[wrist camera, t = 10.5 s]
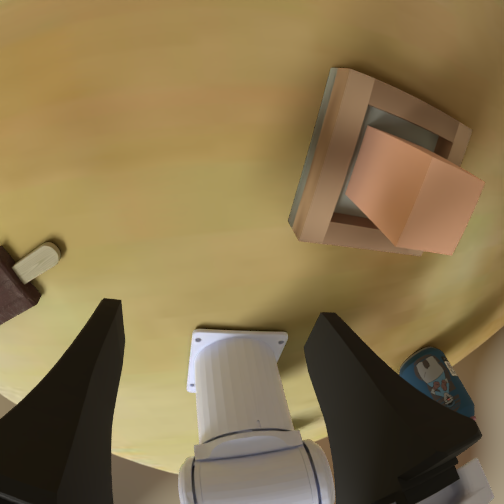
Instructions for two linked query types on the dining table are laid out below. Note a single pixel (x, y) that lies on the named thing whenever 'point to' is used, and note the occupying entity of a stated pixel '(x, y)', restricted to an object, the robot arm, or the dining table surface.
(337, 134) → the walnut base
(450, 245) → the terracotta block
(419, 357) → the soda can
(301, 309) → the dining table surface
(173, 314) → the dining table surface
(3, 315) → the ice cream bar
